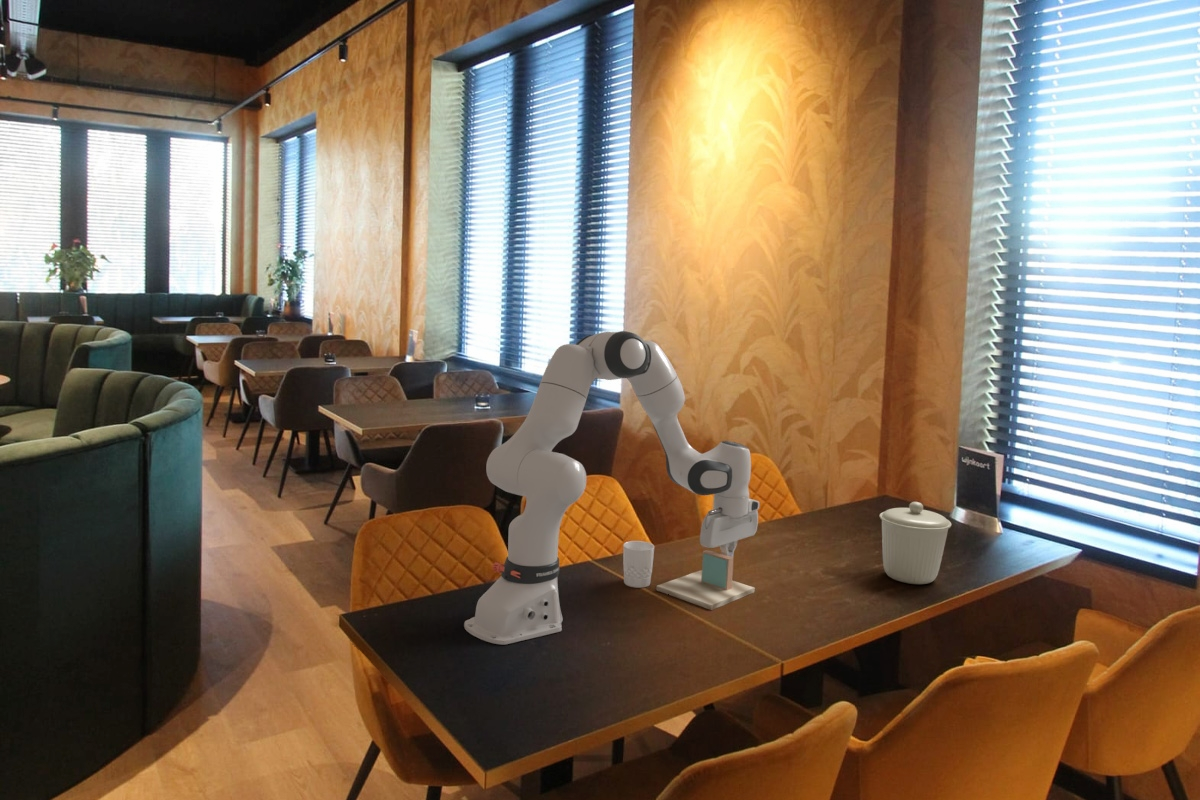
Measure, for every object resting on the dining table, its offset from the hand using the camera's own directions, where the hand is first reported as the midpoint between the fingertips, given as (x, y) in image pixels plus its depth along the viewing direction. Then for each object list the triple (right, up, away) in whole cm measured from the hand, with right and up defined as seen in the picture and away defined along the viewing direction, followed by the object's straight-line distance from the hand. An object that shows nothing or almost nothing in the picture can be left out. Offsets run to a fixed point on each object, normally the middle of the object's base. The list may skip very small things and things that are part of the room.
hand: (727, 557), depth 217 cm
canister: (+51, -8, +13) cm, 53 cm away
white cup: (-23, -7, 0) cm, 24 cm away
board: (-6, -8, -3) cm, 10 cm away
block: (-3, -6, -2) cm, 7 cm away
